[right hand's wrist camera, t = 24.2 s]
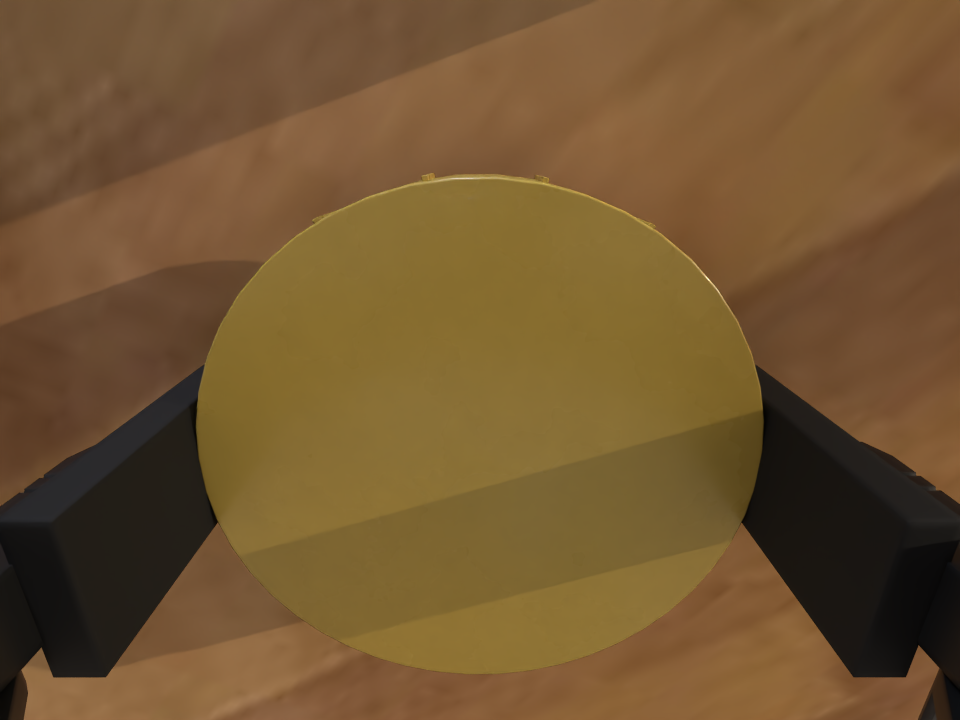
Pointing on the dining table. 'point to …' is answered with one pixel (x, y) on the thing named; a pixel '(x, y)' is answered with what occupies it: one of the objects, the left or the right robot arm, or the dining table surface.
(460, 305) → the lid
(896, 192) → the dining table surface
